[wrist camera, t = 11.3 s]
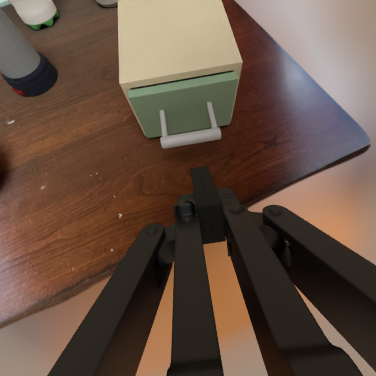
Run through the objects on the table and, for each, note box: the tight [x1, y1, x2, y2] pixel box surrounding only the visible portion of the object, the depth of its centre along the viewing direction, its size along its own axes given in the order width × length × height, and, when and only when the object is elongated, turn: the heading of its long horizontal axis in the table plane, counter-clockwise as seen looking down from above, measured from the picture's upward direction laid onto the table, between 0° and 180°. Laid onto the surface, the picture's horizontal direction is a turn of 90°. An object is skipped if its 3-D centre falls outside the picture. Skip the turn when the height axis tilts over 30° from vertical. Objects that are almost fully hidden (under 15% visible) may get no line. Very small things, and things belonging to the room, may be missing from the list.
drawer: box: [128, 71, 238, 149], centre depth 27 cm, size 20×13×8 cm, turn 8°
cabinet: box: [118, 0, 242, 136], centre depth 28 cm, size 16×14×10 cm
